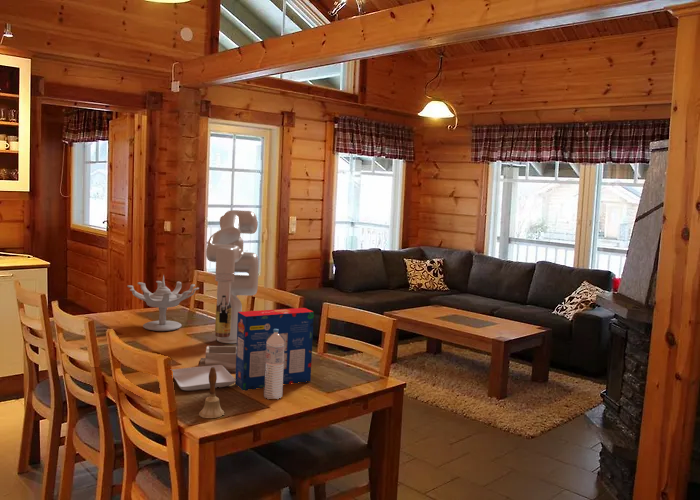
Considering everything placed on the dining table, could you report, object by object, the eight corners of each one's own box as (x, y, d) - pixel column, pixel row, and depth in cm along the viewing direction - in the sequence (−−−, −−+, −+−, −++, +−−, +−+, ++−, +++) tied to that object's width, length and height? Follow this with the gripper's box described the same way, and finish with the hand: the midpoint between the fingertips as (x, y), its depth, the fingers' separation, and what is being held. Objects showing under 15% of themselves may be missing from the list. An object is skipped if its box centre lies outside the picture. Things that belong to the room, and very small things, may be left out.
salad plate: (179, 395, 228) (180, 386, 227) (167, 377, 247) (167, 368, 246) (237, 389, 238) (237, 380, 237) (221, 372, 256) (221, 364, 256)
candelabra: (211, 329, 324) (213, 276, 321) (149, 339, 298) (150, 282, 295) (173, 317, 346) (174, 267, 343) (112, 325, 320) (113, 272, 317)
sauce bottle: (226, 338, 258) (228, 290, 255) (212, 337, 259) (213, 289, 256) (232, 335, 264) (234, 287, 262) (218, 333, 265) (220, 286, 263)
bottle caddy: (200, 360, 270) (201, 344, 269) (243, 360, 273) (244, 344, 273) (198, 373, 252) (198, 356, 252) (244, 373, 256) (244, 356, 255)
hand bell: (222, 419, 207) (224, 371, 205) (197, 418, 206) (198, 370, 205) (225, 410, 215) (227, 364, 213) (201, 409, 214) (202, 363, 213)
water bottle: (264, 393, 233) (266, 326, 230) (282, 394, 234) (285, 327, 231) (263, 400, 226) (265, 331, 224) (282, 400, 227) (285, 332, 224)
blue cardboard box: (301, 375, 257) (304, 307, 253) (310, 381, 250) (313, 311, 247) (235, 384, 242) (237, 311, 239) (243, 390, 235) (245, 316, 232)
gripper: (216, 273, 267) (214, 315, 268) (214, 280, 250) (213, 325, 252) (234, 274, 268) (232, 316, 270) (234, 280, 251) (232, 325, 253)
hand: (223, 320), depth 261 cm, fingers closed on sauce bottle, 6 cm apart
